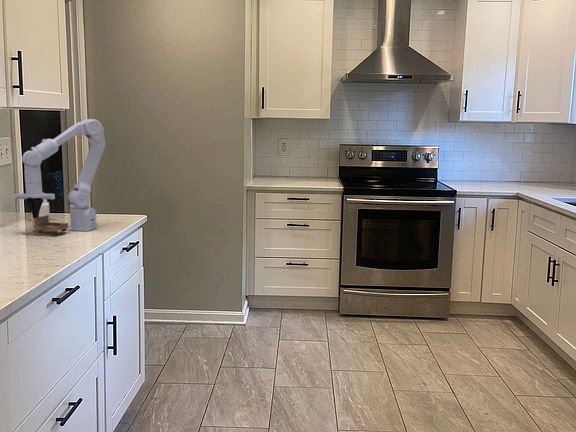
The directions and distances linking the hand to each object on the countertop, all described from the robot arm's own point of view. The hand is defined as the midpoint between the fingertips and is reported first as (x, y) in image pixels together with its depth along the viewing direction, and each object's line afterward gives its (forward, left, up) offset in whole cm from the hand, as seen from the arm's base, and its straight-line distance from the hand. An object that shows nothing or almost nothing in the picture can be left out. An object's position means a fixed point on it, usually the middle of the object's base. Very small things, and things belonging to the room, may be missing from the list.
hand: (35, 217), depth 220 cm
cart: (-7, 0, -6) cm, 9 cm away
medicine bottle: (+17, -26, -6) cm, 32 cm away
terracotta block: (+6, -11, -6) cm, 14 cm away
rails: (-3, 0, -6) cm, 7 cm away
